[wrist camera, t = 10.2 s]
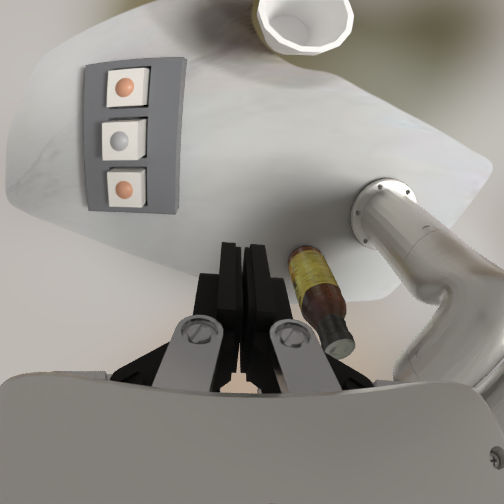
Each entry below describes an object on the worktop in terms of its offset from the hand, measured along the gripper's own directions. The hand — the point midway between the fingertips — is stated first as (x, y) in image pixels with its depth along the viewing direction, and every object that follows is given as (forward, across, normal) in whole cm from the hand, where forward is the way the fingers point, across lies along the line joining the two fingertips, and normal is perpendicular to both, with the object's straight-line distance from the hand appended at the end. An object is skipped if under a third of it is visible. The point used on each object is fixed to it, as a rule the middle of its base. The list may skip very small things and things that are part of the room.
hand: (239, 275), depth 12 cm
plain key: (+30, +15, -1) cm, 34 cm away
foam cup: (+32, -5, -17) cm, 37 cm away
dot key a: (+31, +15, +6) cm, 35 cm away
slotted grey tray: (+32, +15, -1) cm, 35 cm away
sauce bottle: (+32, -13, +18) cm, 39 cm away
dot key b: (+31, +15, -8) cm, 36 cm away
